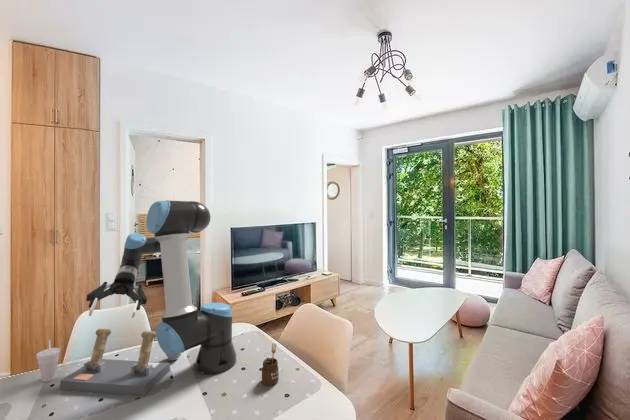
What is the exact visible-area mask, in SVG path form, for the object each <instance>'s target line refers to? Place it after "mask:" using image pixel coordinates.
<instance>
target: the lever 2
mask: <svg viewBox="0 0 630 420" xmlns="http://www.w3.org/2000/svg"><path fill="white" fill-rule="evenodd" d="M140 336H141V338H142V341H141V346H140V349H139V355H138V360H137V361H138V363H137V365H136V366H135V368H134V372H140V373H146V367H148V366H149V365H148V362H150V357H151V352H152V348H153V347H152V346H153V342H154V339H155V338H157V337H156V330H155V331H154V330H144V331H142V333H141V335H140Z"/></svg>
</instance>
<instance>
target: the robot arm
mask: <svg viewBox="0 0 630 420" xmlns="http://www.w3.org/2000/svg"><path fill="white" fill-rule="evenodd" d="M145 222H146V228H147V231H148V233H149V234H153V235H154V237H146V236H145V234H142V233H137V232H135V233H133V232H132V233H130V234H129V235H128V236H126V238H125V242H124V247H123V248H124V249H123V253H122V258H121V262H120V265H119V268H118V270H117V273H116V275H115V277H114V280H113V281H112V283H108V281H103V283H102V284H101V285H100V286H98V287H96V288H95V289H94V290H92V291H91V292H89V293H88V294H87V295H86V299H85V301H86V302H89V303H88V308H89V313H88V316H89V317H92V315H93V312H94V310H95V308H96V306H97V304H98V301H101V300H102V299H105V298H107V297H109V296H113V295H124V296H127V297H128V298H129V299H131V300H132V301H133V303H135V304H134V307H133V312H132V315H131V318H132V319H133V318H135V315H136V312H137V311H140V310H141V307H142V306H141V305H147V302H148V297H147V296H146V293H145V292H144V291H143V289H142V286H143V285H142V284H138V285H136V286H135V282H136V279H137V275H138V273H139V269H140V266H141V264H142V259H143V255H150V254H158V253H160V257H161V269H162V270H161V271H162V279H163V291H164V301H165V311H164V313H163V314H162V315H161V322H159V323H158V324H157V325H156V329H155V332H156V337H155V338H156V340H157V344H158V346H159V348H160V349H161V350H162V351H163V353H164V354H165V355H166V354H167V355H175V354H178V353H181V354H182V353H184V352H186V351H188V350H191V349H194V348H196V347H198V346H199V350H198V353H197V356H196V359H195V370H197V372H199V373H202V374H206V375H212V374H214V375H215V374H219V373H222V372H225V371H227V370H229V369H231V368H232V367H234V366H235V364H236V363H237V352H236V350H235V346H234V344H233V337H232V336H233V311H232V309H233V308H232V307H231V305H229V304H228V303H225V302H207V303H206V302H205V303H203V304H202V305H200V308H199V309H200V310H198V307H196V306H195V305H194V304H193V300H192V299H193V298H192V289H191V288H192V287H191V279H190V278H191V277H190V270H189V260H188V250H187V249H188V248H187V239H188V238H189V237H190V236H191V235H194V234H198V233H201V232H202V231H203V230H205V229H206V228H208V226H209V224H210V222H211V212H210V211H209V209H208V208H207V206H205V204H203V203H201V202H199V201H194V200H191V201H187V200H185V201H184V200H168V199H167V200H158V201H157V200H156V201H155V202H153V203H152V204H151V205H150V207H149V208H148V211H147V215H146V221H145ZM134 290H135V291H134Z"/></svg>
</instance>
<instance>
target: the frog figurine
mask: <svg viewBox="0 0 630 420" xmlns="http://www.w3.org/2000/svg"><path fill="white" fill-rule="evenodd" d="M181 354H182V353H178V354H175V355H167V354H165V356H166V357H167V358H168V359H169V361H170V360H171V361H176V360H177V359H179V358H180V356H181Z"/></svg>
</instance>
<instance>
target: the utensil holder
mask: <svg viewBox="0 0 630 420" xmlns="http://www.w3.org/2000/svg"><path fill="white" fill-rule="evenodd" d="M276 349H277V343H274V342H273V343H272V345H271V353H272V355H271V353H265V354H264V357H266V358H264V360H263V361H262V368H261V382H262V384H263V385H265V386H274V385H276V384H277V383H278V382H279V379H280V378H279V376H280V374H279V373H280V372H279V371H280V370H279V365H278V363H279V362H278V359H276V358H275V356H274V354H275V353H276V352H277V350H276ZM268 356H269V357H268ZM267 357H268V358H267Z"/></svg>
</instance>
